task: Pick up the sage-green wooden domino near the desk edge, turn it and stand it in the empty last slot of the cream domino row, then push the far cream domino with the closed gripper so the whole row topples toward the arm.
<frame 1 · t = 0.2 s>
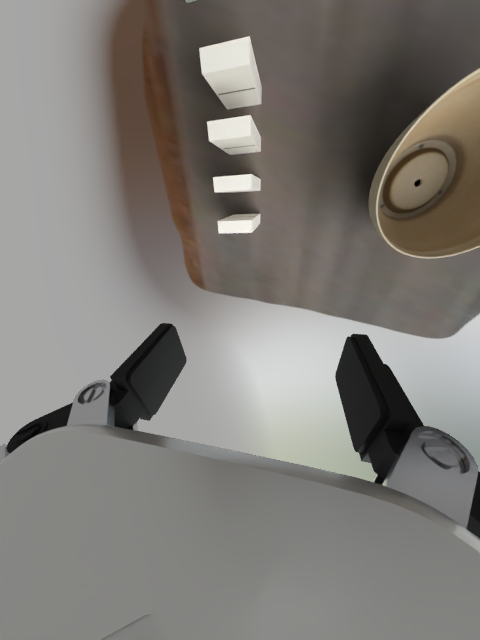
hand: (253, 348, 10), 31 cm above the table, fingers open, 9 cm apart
domino 3: (244, 146, 29), on the table
domino 1: (246, 218, 34), on the table
domino 2: (246, 185, 31), on the table
planter bowl: (410, 182, 27), on the table
domino 4: (243, 98, 26), on the table
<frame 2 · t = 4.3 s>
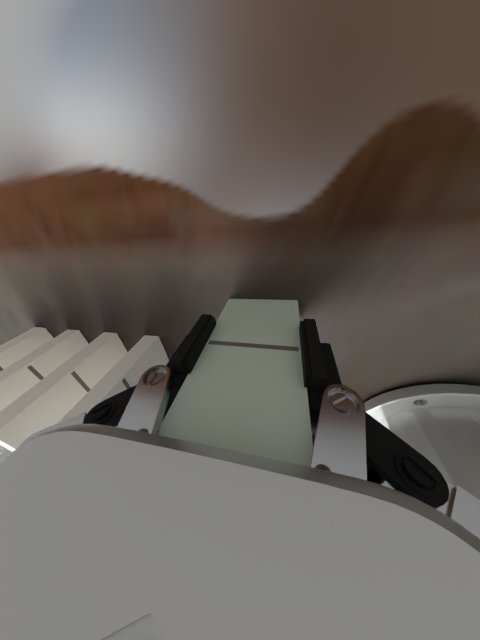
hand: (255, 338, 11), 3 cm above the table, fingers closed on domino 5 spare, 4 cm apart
domino 3: (120, 350, 21), on the table
domino 1: (53, 343, 23), on the table
domino 2: (85, 346, 22), on the table
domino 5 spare: (262, 308, 14), on the table, touching gripper
domino 4: (159, 353, 19), on the table
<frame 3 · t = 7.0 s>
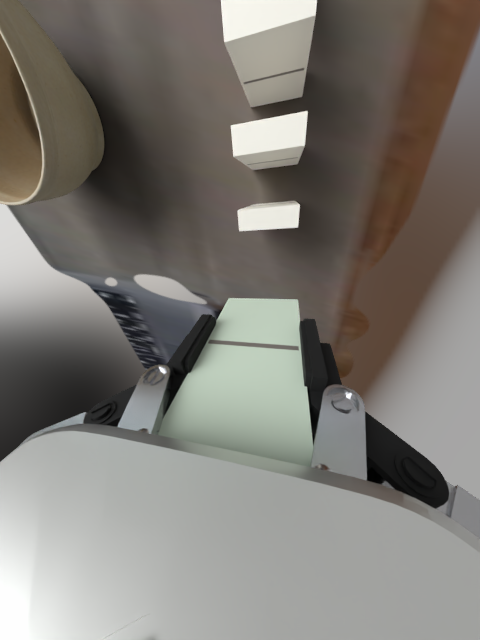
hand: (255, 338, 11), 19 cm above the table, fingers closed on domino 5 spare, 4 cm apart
domino 3: (274, 158, 20), on the table
domino 2: (276, 90, 18), on the table
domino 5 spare: (262, 308, 14), point 15 cm above the table, touching gripper
planter bowl: (72, 124, 23), on the table
domino 4: (274, 209, 23), on the table
when the fingers open (4 cm above the table, at t = 10.0 s): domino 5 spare stays where it is, on the table.
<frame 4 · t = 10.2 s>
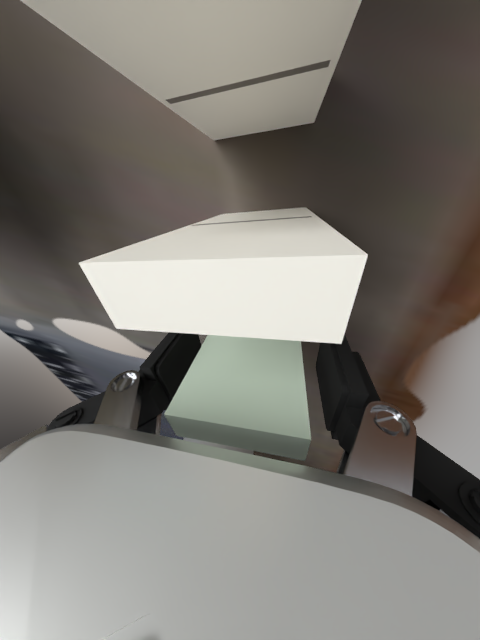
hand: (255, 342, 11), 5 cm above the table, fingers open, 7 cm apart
domino 3: (260, 108, 9), on the table
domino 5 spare: (262, 302, 15), on the table
domino 4: (262, 225, 11), on the table
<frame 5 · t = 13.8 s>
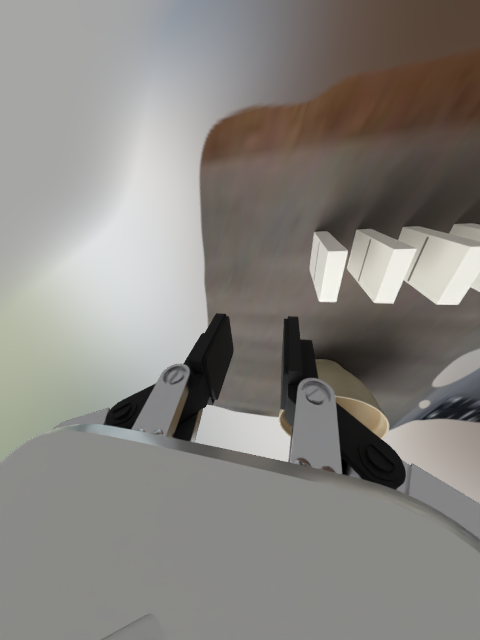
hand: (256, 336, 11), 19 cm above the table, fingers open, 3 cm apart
domino 3: (402, 248, 23), on the table
domino 1: (317, 251, 25), on the table
domino 2: (358, 249, 24), on the table
planter bowl: (319, 373, 38), on the table
domino 4: (450, 246, 22), on the table
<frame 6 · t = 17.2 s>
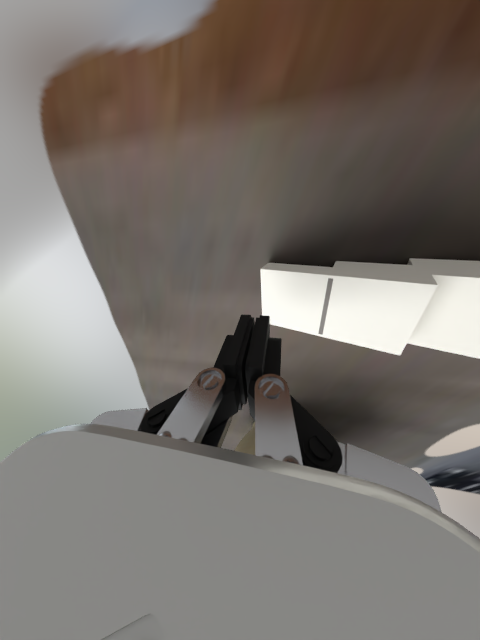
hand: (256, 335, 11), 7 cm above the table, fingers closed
domino 3: (397, 294, 14), point 1 cm above the table, tilted 71°, touching domino 4
domino 1: (265, 294, 16), point 1 cm above the table, tilted 71°, touching domino 2
domino 2: (328, 294, 15), point 1 cm above the table, tilted 71°, touching domino 1
planter bowl: (282, 428, 30), on the table
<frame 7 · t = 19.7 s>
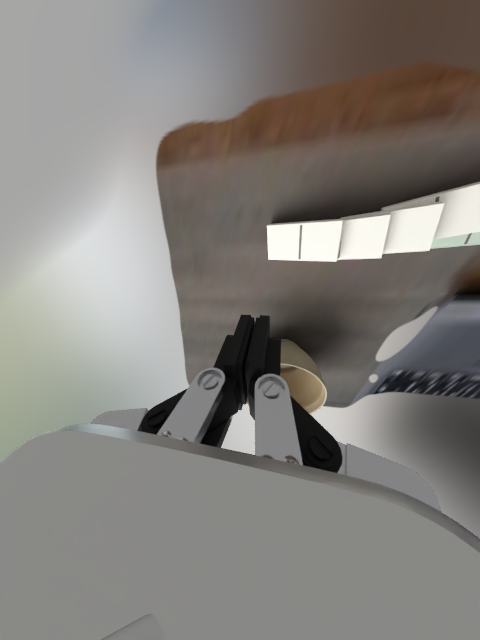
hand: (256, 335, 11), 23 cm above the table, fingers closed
domino 3: (339, 237, 27), point 1 cm above the table, tilted 71°, touching domino 2, domino 4
domino 1: (269, 242, 29), point 1 cm above the table, tilted 71°, touching domino 2
domino 2: (303, 242, 28), point 1 cm above the table, tilted 71°, touching domino 1, domino 3
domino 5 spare: (422, 228, 24), point 1 cm above the table, tilted 90°, touching domino 4
planter bowl: (281, 352, 43), on the table
domino 4: (380, 228, 25), point 1 cm above the table, tilted 75°, touching domino 3, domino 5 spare
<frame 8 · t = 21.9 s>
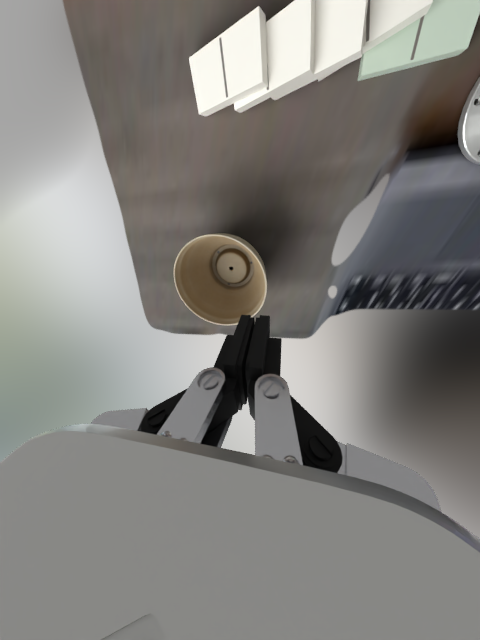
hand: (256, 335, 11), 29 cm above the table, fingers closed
domino 3: (271, 69, 23), point 1 cm above the table, tilted 71°, touching domino 2, domino 4
domino 1: (198, 89, 25), point 1 cm above the table, tilted 71°
domino 2: (234, 84, 24), point 1 cm above the table, tilted 71°, touching domino 3
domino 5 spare: (363, 45, 21), on the table, tilted 90°, touching domino 4
planter bowl: (233, 265, 40), on the table
domino 4: (315, 48, 21), point 1 cm above the table, tilted 78°, touching domino 3, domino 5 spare
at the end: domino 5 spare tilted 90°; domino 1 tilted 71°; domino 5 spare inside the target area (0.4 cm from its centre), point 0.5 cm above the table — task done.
